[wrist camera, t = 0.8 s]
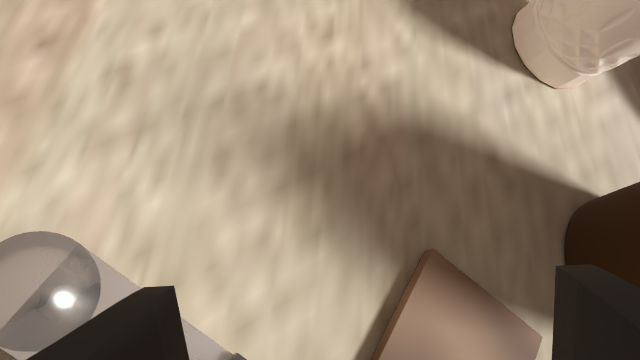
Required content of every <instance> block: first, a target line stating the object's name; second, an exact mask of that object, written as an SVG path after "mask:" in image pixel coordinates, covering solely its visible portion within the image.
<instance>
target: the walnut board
mask: <svg viewBox="0 0 640 360" xmlns="http://www.w3.org/2000/svg"><path fill="white" fill-rule="evenodd" d="M541 340H542V336H541V335H540V334H538V333H537V332H536V331H535V330H533V329H532V328H531V327H530V326H528V325H527V324H526V323H525V322H523V321H522V320H521V319H520V318H519V317H517V316H516V315H515V314H514V313H512V312H511V311H510V310H509V309H507V308H506V307H505V306H504V305H502V304H501V303H500V302H499V301H497V300H496V299H495V298H494V297H493V296H491V295H490V294H489V293H488V292H486V291H485V290H484V289H483V288H481V287H480V286H479V285H478V284H476V283H475V282H474V281H473V280H471V279H470V278H469V277H468V276H466V275H465V274H464V273H463V272H462V271H460V270H459V269H458V268H457V267H455V266H454V265H453V264H452V263H450V262H449V261H448V260H447V259H445V258H444V257H443V256H442V255H440V254H439V253H438V252H437V251H435V250H434V249H431V250H428V251H425V252H424V254H423V256H422V258H421V260H420V262H419V264H418V266H417V268H416V270H415V272H414V274H413V276H412V278H411V280H410V282H409V284H408V286H407V288H406V290H405V292H404V294H403V296H402V298H401V300H400V302H399V304H398V306H397V308H396V310H395V312H394V314H393V316H392V318H391V320H390V322H389V324H388V326H387V328H386V330H385V332H384V334H383V336H382V338H381V340H380V342H379V344H378V346H377V348H376V350H375V352H374V354H373V356H372V358H371V360H535V359H536V356H537V353H538V350H539V347H540V343H541Z"/></svg>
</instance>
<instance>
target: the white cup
mask: <svg viewBox="0 0 640 360" xmlns="http://www.w3.org/2000/svg"><path fill="white" fill-rule="evenodd" d="M512 32H513V38H514V44H515V48H516V50H517V52H518V54H519V56H520V57H521V59H522V61H523V63H524V65H525V66H526V67H527V68H528V69H529V70H530V71H531V72H532V73H533V74H534V75H535V76H536V77H537V78H538V79H539V80H540V81H542V82H544V83H546V84H548V85H550V86H552V87H554V88H556V89H561V88H573V87H575V86H577V85H579V84H581V83H583V82H585V81H587V80H589V79H590V78H592V77H594V76H596V75H598V74H599V73H601V72H604V71H607V70H610V69H613V68H615V67H617V66H619V65H621V64H623V63H625V62H627V61H628V60H630V59H633V58H636V57H638V56H640V0H532V1H531V2H529V3H528V4H527V5H526V6H525V7H524V8H523V9H521V10H520V11H519V12H518V13H517V14H516V17H515V20H514V24H513V27H512Z"/></svg>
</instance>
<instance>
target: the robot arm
mask: <svg viewBox="0 0 640 360" xmlns="http://www.w3.org/2000/svg"><path fill="white" fill-rule="evenodd" d="M26 360H190V359H189V355H188V350H187V345H186V341H185V336H184V331H183V326H182V322H181V317H180V312H179V307H178V303H177V298H176V293H175V288H174V286H161V287H144V288H142V289H140V290H138V291H136V292H134V293H132V294H130V295H129V296H127V297H125V298H123V299H122V300H120V301H119V302H117V303H115V304H114V305H112V306H111V307H109V308H107V309H106V310H104V311H103V312H101V313H100V314H98V315H97V316H95V317H93V318H92V319H90V320H89V321H87V322H86V323H84V324H82V325H81V326H79V327H78V328H76V329H75V330H73V331H72V332H70V333H68V334H67V335H65V336H64V337H62V338H61V339H59V340H58V341H56V342H54V343H53V344H51V345H49V346H48V347H46V348H44V349H43V350H41V351H39V352H38V353H36V354H34V355H33V356H31V357H29V358H28V359H26ZM552 360H640V288H638V287H636V286H634V285H633V284H631V283H629V282H627V281H625V280H623V279H621V278H619V277H617V276H615V275H614V274H612V273H610V272H607V271H605V270H603V269H601V268H599V267H597V266H594V265H592V264H587V265H568V266H556V279H555V301H554V324H553V346H552Z"/></svg>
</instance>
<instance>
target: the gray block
mask: <svg viewBox="0 0 640 360" xmlns="http://www.w3.org/2000/svg"><path fill="white" fill-rule="evenodd" d="M140 289H141V288H140V287H139V286H137V285H136V284H134V283H133V282H132V281H130V280H129V279H128V278H126V277H125V276H123V275H122V274H121V273H119V272H118V271H116V270H115V269H114V268H112V267H111V266H110V265H108V264H107V263H105V262H104V261H103V260H101V259H100V258H99V257H97V256H96V255H94V254H93V253H92V252H90V251H89V250H87V249H86V248H85V247H83V246H82V245H81V244H79V243H78V242H76V241H74V240H73V239H71V238H69V237H66V236H64V235H61V234H58V233H52V232H43V231H39V232H28V233H23V234H19V235H15V236H13V237H10V238H8V239H6V240H4V241H2V242H0V348H1V349H2V350H4V351H5V352H7V353H8V354H10V355H11V356H13V357H14V358H16V359H17V360H26V359H28V358H29V357H31V356H33V355H34V354H36V353H38V352H39V351H41V350H43V349H44V348H46V347H48V346H49V345H51V344H53V343H54V342H56V341H58V340H59V339H61V338H62V337H64V336H65V335H67V334H68V333H70V332H72V331H73V330H75V329H76V328H78V327H79V326H81V325H82V324H84V323H86V322H87V321H89V320H90V319H92V318H93V317H95V316H97V315H98V314H100V313H101V312H103V311H104V310H106V309H107V308H109V307H111V306H112V305H114V304H115V303H117V302H119V301H120V300H122V299H123V298H125V297H127V296H129V295H130V294H132V293H134V292H136V291H138V290H140ZM181 322H182V326H183V331H184V336H185V341H186V345H187V350H188V355H189V359H190V360H247V359H245V358H244V357H242V356H241V355H240V354H238V353H234V354H231V353H230V352H228V351H227V350H226V349H224V348H223V347H222V346H220V345H219V344H217V343H216V342H215V341H213V340H212V339H210V338H209V337H208V336H206V335H205V334H204V333H202V332H201V331H199V330H198V329H197V328H195V327H194V326H192V325H191V324H190V323H188V322H187V321H186V320H184V319H183V318H181Z"/></svg>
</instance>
